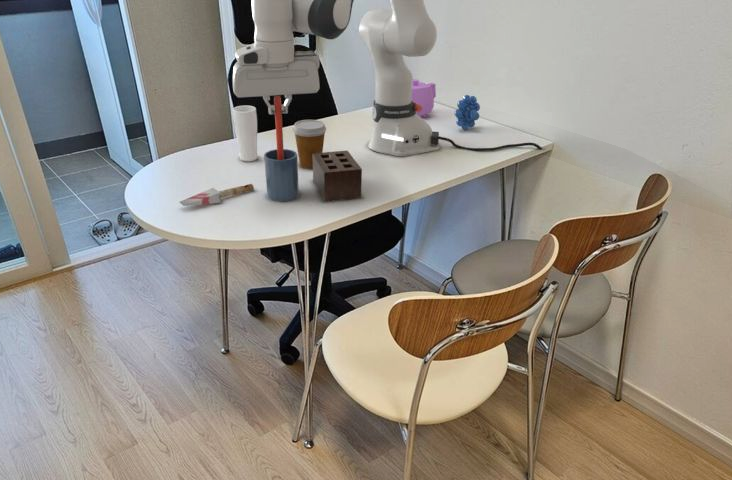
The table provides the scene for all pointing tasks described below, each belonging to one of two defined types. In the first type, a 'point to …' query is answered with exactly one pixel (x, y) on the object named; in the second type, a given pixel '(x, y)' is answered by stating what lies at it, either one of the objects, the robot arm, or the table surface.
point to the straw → (279, 127)
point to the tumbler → (281, 175)
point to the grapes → (467, 112)
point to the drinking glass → (246, 131)
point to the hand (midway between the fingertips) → (278, 113)
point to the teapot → (423, 96)
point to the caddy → (337, 175)
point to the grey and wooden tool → (215, 195)
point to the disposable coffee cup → (309, 140)
